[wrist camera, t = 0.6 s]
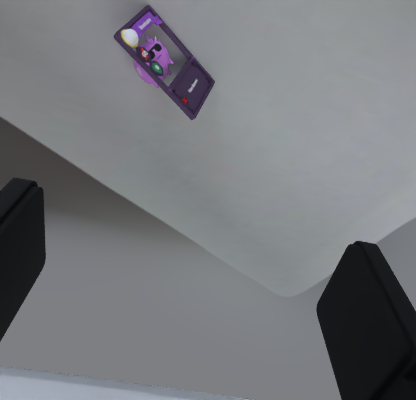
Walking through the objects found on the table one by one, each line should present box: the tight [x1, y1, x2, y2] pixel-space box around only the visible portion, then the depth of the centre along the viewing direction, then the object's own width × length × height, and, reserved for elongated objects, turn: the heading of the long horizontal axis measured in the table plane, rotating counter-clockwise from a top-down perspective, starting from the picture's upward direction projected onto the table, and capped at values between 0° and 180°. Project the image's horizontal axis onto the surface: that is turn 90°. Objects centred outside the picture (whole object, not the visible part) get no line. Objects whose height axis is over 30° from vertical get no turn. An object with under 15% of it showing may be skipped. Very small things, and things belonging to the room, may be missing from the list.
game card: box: [114, 5, 215, 120], centre depth 33 cm, size 7×5×9 cm
